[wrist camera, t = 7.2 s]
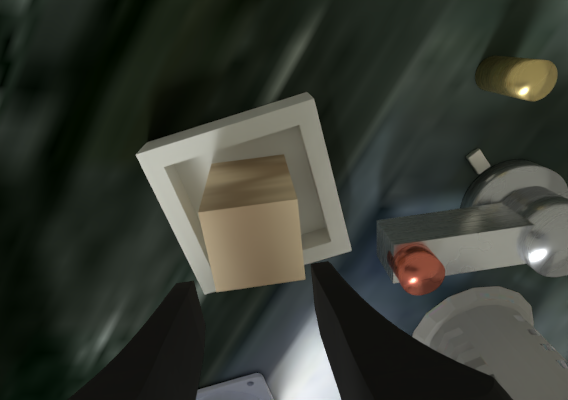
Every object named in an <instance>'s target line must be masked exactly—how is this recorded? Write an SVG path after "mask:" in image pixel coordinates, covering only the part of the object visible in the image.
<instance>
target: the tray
mask: <svg viewBox="0 0 568 400" xmlns="http://www.w3.org/2000/svg"><path fill="white" fill-rule="evenodd" d="M282 154H284V156H285V160H286V163H287V166H288V169H289V173H290V176H291V179H292V183H293V186H294V189H295V193H296V196H297V199H298V209H299V219H300V229H301V240H302V250H303V260H304V265H306V264H309V263H313V262H316V261H320V260H323V259H326V258H330V257H333V256H336V255H340V254H343V253H346V252H350V251H352V249H351V245H350V241H349V237H348V233H347V229H346V225H345V221H344V217H343V213H342V209H341V205H340V201H339V197H338V193H337V189H336V185H335V181H334V177H333V173H332V169H331V165H330V161H329V157H328V153H327V149H326V145H325V141H324V137H323V133H322V128H321V124H320V120H319V116H318V112H317V108H316V104H315V100H314V98H313V97H312V96H311V95H310V94H309V93H308V92H305V93H302V94H299V95H295V96H292V97H289V98H286V99H283V100H280V101H276V102H273V103H270V104H267V105H264V106H261V107H257V108H254V109H251V110H248V111H245V112H242V113H238V114H235V115H232V116H229V117H226V118H223V119H219V120H216V121H213V122H210V123H207V124H203V125H200V126H197V127H194V128H191V129H188V130H184V131H181V132H178V133H175V134H172V135H169V136H165V137H162V138H159V139H156V140H153V141H150V142H147V143H146V144H145V145H144V146H143V147H142V148H141V149H140V150H139V152H138V153H137V154H136V156H137V158H138V160H139V162H140V164H141V167H142V169H143V171H144V173H145V175H146V177H147V179H148V181H149V183H150V185H151V187H152V189H153V191H154V193H155V195H156V197H157V199H158V201H159V203H160V205H161V207H162V209H163V211H164V213H165V215H166V217H167V219H168V221H169V223H170V225H171V227H172V229H173V231H174V233H175V236H176V238H177V240H178V242H179V244H180V246H181V248H182V250H183V252H184V254H185V256H186V258H187V260H188V262H189V264H190V266H191V268H192V270H193V272H194V274H195V276H196V278H197V280H198V282H199V284H200V286H201V288H202V290H203V292H204V294H208V293H212V292H215V291H216V288H215V284H214V280H213V275H212V271H211V267H210V262H209V258H208V254H207V249H206V245H205V241H204V236H203V232H202V228H201V223H200V219H199V214H198V211H199V207H200V204H201V200H202V196H203V193H204V189H205V185H206V182H207V178H208V174H209V171H210V167H211V164H213V163H221V162H228V161H236V160H244V159H251V158H259V157H267V156H275V155H282Z"/></svg>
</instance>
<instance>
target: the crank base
mask: <svg viewBox="0 0 568 400" xmlns="http://www.w3.org/2000/svg"><path fill="white" fill-rule="evenodd" d="M475 81H476V84H477V85H478V87H479V88H480V89H482V90H485V91H490V92H494V93H498V94H502V95H506V96H510V97H515V98H519V99H523V100H527V101H537V100H540V99H542V98H544V97H545V96H547V95H548V94H549V93H550V92H551V90H552V89H553V87H554V86H555V84H556V81H557V69H556V66H555V65H554V64H553V63H552V62H550V61H548V60H539V59H528V58H517V57H506V56H491V57H488V58H486V59H485V60H484V61H482V62H481V64H480V65H479V66H478V68H477V71H476V74H475ZM466 158H467V160H468V161H469V163H470V164H471V166H472V167H473V169H474V170H475V172H476V173H477V174H481V173H482V172H483V171H485V170H486V169H487V168H489V167H490V164H489V163H488V161H487V160H486V158H485V156H484V155H483V153H482V152H481V150H480V149H478V148H476V149H475V150H474V151H472V152H471V153H470V154H468V155H467V156H466ZM530 186H541V187H545V188H547V189H549V190H551V191H553V192H555V193H557V194H559V195H561V196H563V197H565V198H567V199H568V187H567V185H566V183H565V181H564V179H563V178H562V177H561V176H560V175H559V174H557V173H556V172H554V171H552V170H550V169H548V168H546V167H544V166H541V165H539V164H537V163H535V162H532V161H529V160H510V161H505V162H502V163H500V164H497V165H495V166H493V167H491V168H490V169H488V170H486V171H485V172H484V173H482V174H481V175H480V176H479V177H478V178H477V179H476V180H475V181H474V182H473V183H472V184H471V186H470V187H469V189H468V190H467V192H466V194H465V195H464V198H463V200H462V203H461V207H460V209H461V208H468V207H475V206H482V205H489V204H496V203H502V202H503V201H504V200H505V199H506V198H507V197H508V196H510V195H511V194H512V193H514V192H516V191H518V190H520V189H522V188H525V187H530Z"/></svg>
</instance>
